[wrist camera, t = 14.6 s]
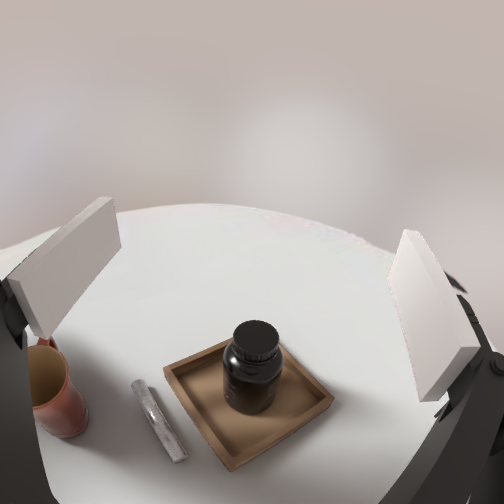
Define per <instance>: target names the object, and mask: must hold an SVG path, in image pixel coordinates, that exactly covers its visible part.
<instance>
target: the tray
mask: <svg viewBox="0 0 504 504" xmlns="http://www.w3.org/2000/svg"><path fill="white" fill-rule="evenodd" d="M232 340H233V337H232V338H230V339H228V340H226V341H223V342H221V343H219V344H217V345H215V346H212V347H210V348H208V349H206V350H203V351H201V352H199V353H196V354H194V355H192V356H189V357H187V358H185V359H182V360H180V361H178V362H175V363H173V364H170V365H168V366H165V367H163V371H164V375H165V378H166V380H167V382H168V383H169V385H170V386H171V388H172V390H173V391H174V393H175V395H176V396H177V398H178V399H179V401H180V402H181V404H182V406H183V407H184V409H185V410H186V412H187V413H188V415H189V416H190V418H191V419H192V421H193V422H194V424H195V425H196V427H197V428H198V429H199V431H200V432H201V434H202V435H203V437H204V438H205V439H206V441H207V442H208V444H209V445H210V446H211V448H212V449H213V450H214V452H215V453H216V455H217V456H218V457H219V459H220V460H221V461H222V462H223V464H224V465H225V466H226V468H227V469H228V470H229V471H230V472H231V471H233V470H234V469H236V468H238V467H240V466H242V465H243V464H245V463H247V462H248V461H250V460H252V459H254V458H255V457H257V456H258V455H260V454H262V453H263V452H265V451H267V450H268V449H270V448H271V447H273V446H274V445H276V444H278V443H279V442H281V441H282V440H284V439H285V438H287V437H288V436H290V435H291V434H293V433H294V432H295V431H297V430H298V429H300V428H301V427H303V426H304V425H305V424H307V423H308V422H310V421H311V420H312V419H314V418H315V417H316V416H318V415H319V414H320V413H322V412H323V411H324V410H326V409H327V408H328V407H330V405H331V403H332V402H333V400H334V398H335V397H333V396H332V395H331V394H330V393H329V392H328V391H327V390H326V389H325V388H324V387H323V386H322V385H321V384H320V383H319V382H318V381H317V380H316V379H315V378H314V377H313V376H312V375H310V374H309V373H308V372H307V371H306V370H305V369H304V368H303V367H302V366H301V365H300V364H299V363H298V362H297V361H296V360H295V359H294V358H293V357H292V356H291V355H290V354H289V353H288V352H287V351H286V350H285V349H284V348H283V347H282V346H281V345H280V344H279V347H280V348H281V350H282V352H283V355H284V365H283V369H282V373H281V377H280V381H279V385H278V389H277V393H276V396H275V399H274V401H273V403H272V405H271V406H270V407H269V408H268V409H266V410H265V411H263V412H261V413H258V414H243V413H240V412H237V411H235V410H234V409H232V408H231V407H230V406H229V405H228V404H227V402H226V400H225V398H224V394H223V354H224V351H225V348H226V347H227V345H228V344H229V343H230V342H231V341H232Z"/></svg>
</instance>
